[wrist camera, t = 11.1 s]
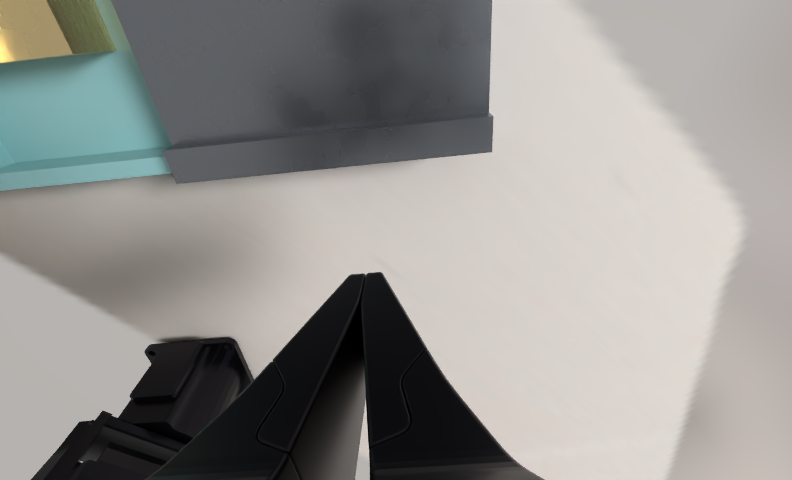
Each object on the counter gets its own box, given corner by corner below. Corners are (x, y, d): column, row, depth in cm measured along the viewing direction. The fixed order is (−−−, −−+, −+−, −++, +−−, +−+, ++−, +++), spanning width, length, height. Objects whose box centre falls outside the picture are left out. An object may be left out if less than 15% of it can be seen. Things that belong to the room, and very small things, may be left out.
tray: (201, 156, 19) (177, 172, 17) (20, 174, 19) (-27, 193, 17) (40, -264, 12) (-40, -329, 10) (-242, -219, 12) (-379, -272, 10)
